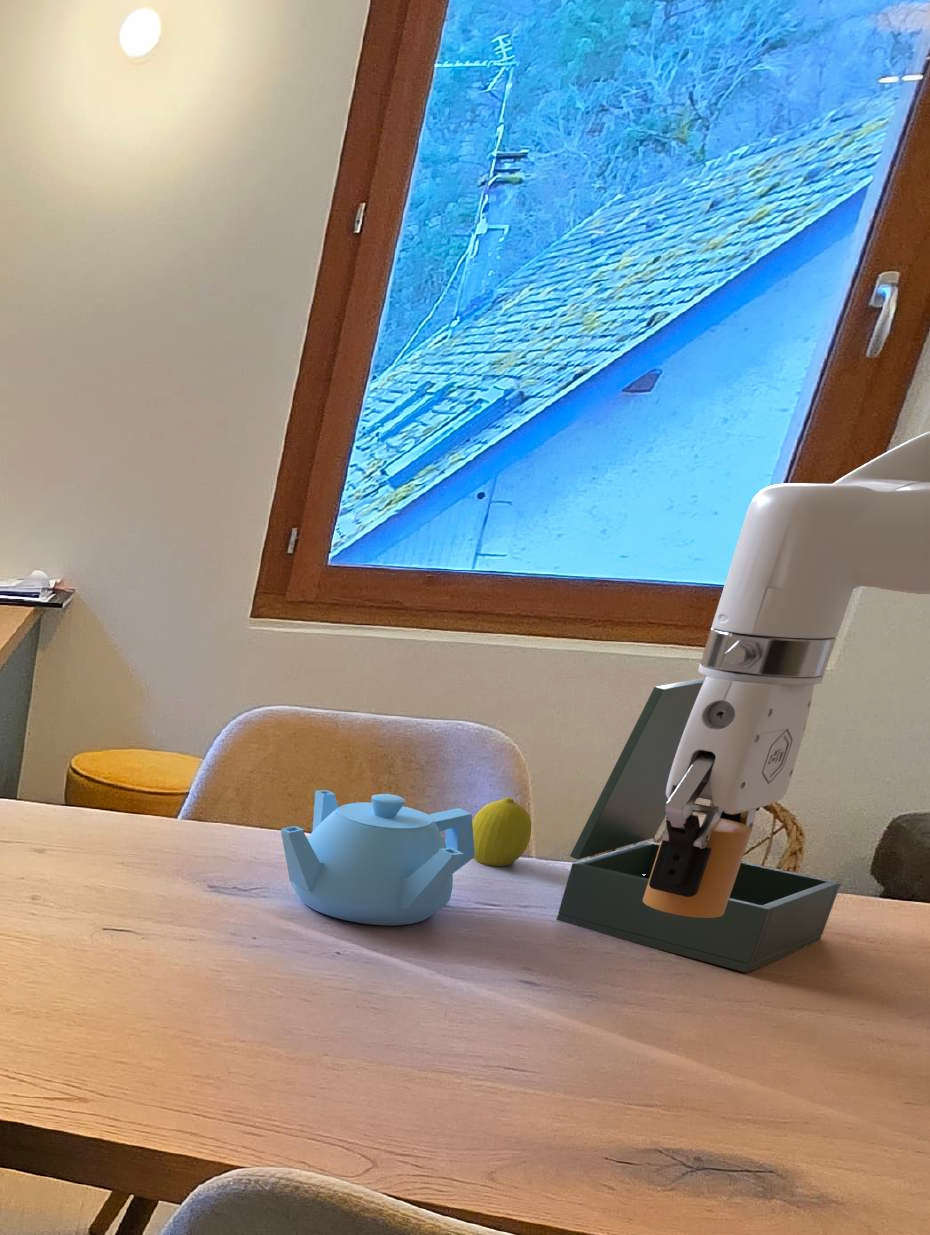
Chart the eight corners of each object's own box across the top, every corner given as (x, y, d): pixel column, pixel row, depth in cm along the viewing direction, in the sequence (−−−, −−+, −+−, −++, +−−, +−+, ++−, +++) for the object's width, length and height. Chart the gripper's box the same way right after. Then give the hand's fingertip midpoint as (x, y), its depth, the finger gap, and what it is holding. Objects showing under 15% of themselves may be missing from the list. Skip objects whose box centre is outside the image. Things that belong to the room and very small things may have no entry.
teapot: (438, 947, 128) (468, 833, 123) (262, 912, 136) (284, 804, 131) (464, 896, 139) (493, 790, 134) (300, 867, 147) (322, 766, 142)
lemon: (530, 879, 146) (551, 805, 143) (476, 880, 146) (496, 806, 143) (501, 861, 151) (520, 789, 148) (448, 862, 151) (467, 790, 148)
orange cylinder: (736, 911, 114) (764, 826, 111) (704, 922, 111) (733, 836, 108) (661, 893, 118) (687, 811, 115) (629, 903, 115) (655, 819, 112)
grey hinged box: (819, 943, 129) (841, 882, 126) (746, 973, 121) (768, 909, 119) (631, 897, 141) (648, 840, 139) (555, 921, 134) (572, 862, 131)
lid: (740, 675, 130) (731, 672, 130) (663, 689, 123) (654, 686, 123) (654, 838, 138) (645, 834, 139) (577, 860, 131) (569, 856, 132)
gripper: (772, 674, 100) (692, 917, 107) (871, 656, 108) (791, 882, 115) (654, 659, 105) (585, 890, 112) (757, 643, 114) (687, 859, 121)
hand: (690, 884), depth 114 cm, fingers closed on orange cylinder, 5 cm apart
